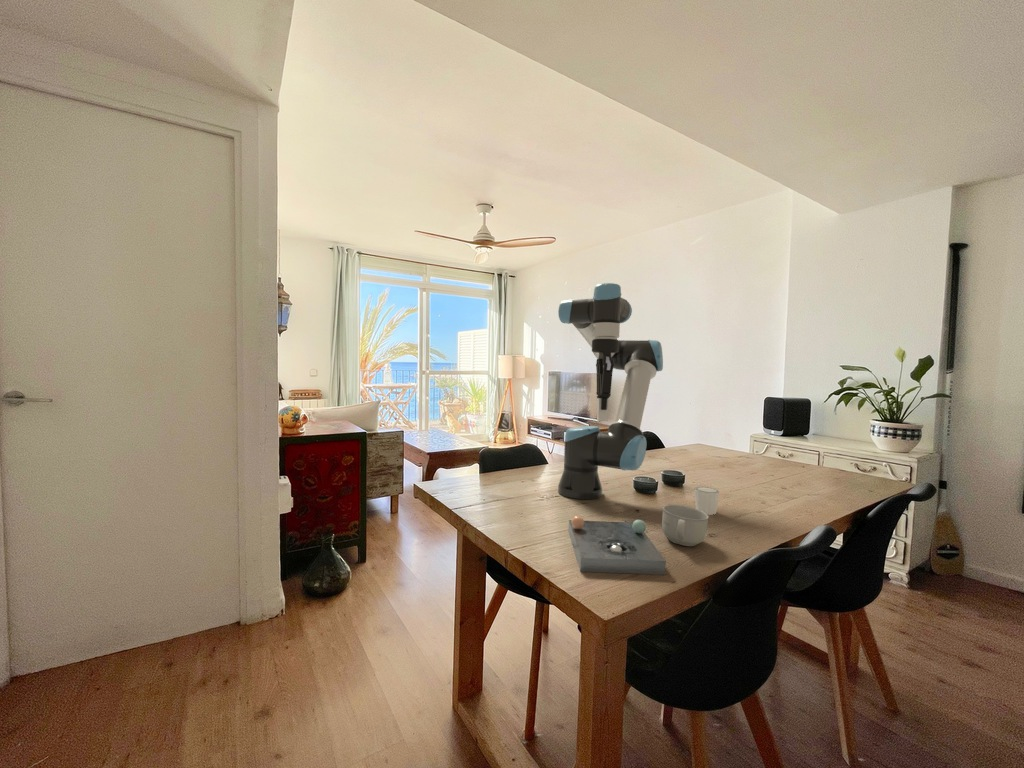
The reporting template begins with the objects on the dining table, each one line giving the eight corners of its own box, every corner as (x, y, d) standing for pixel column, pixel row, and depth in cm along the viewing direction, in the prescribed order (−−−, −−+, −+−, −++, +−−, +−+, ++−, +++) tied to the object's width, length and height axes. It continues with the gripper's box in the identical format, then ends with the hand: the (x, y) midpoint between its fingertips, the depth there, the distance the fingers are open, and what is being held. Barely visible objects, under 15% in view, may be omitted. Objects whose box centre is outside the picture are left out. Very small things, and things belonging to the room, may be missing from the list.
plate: (568, 531, 111) (568, 520, 111) (636, 533, 111) (637, 522, 111) (580, 571, 89) (580, 557, 89) (665, 574, 89) (666, 560, 89)
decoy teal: (630, 530, 105) (631, 517, 105) (643, 530, 105) (643, 518, 105) (634, 535, 102) (634, 522, 102) (647, 535, 102) (647, 522, 102)
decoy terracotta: (570, 526, 107) (570, 513, 106) (583, 526, 106) (583, 514, 106) (572, 531, 103) (572, 518, 103) (585, 531, 103) (585, 518, 103)
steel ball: (608, 541, 96) (611, 552, 93) (622, 542, 96) (625, 553, 93) (606, 551, 98) (609, 562, 95) (620, 551, 97) (623, 563, 95)
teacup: (669, 529, 114) (670, 500, 114) (712, 541, 108) (713, 510, 107) (650, 545, 104) (651, 513, 103) (696, 559, 97) (698, 525, 96)
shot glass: (689, 510, 130) (690, 488, 130) (699, 506, 135) (700, 485, 135) (712, 517, 125) (713, 494, 125) (721, 512, 130) (722, 490, 130)
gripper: (588, 340, 126) (585, 417, 127) (596, 336, 113) (593, 423, 114) (613, 340, 126) (610, 418, 127) (624, 337, 113) (620, 424, 114)
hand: (602, 420), depth 121 cm, fingers closed
